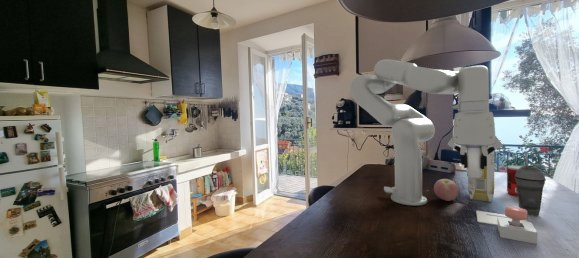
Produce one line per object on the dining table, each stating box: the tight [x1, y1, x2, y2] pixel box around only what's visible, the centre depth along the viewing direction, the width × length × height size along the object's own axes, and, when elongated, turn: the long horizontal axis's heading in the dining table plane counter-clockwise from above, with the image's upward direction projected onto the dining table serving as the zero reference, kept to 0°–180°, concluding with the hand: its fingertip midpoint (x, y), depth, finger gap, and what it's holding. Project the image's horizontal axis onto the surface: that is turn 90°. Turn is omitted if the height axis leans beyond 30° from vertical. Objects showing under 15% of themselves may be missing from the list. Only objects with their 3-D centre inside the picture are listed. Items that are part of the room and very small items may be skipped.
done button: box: [504, 206, 528, 227], centre depth 67 cm, size 4×4×5 cm
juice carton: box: [467, 144, 495, 203], centre depth 96 cm, size 9×8×24 cm
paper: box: [475, 210, 527, 226], centre depth 77 cm, size 12×10×1 cm
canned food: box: [506, 165, 523, 198], centre depth 99 cm, size 8×8×11 cm
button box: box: [496, 217, 538, 245], centre depth 67 cm, size 7×7×3 cm
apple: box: [433, 178, 459, 202], centre depth 96 cm, size 8×8×8 cm
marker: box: [466, 145, 481, 178], centre depth 76 cm, size 4×4×11 cm
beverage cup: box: [515, 151, 547, 217], centre depth 81 cm, size 7×7×20 cm
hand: (474, 167), depth 77 cm, fingers closed on marker, 3 cm apart
